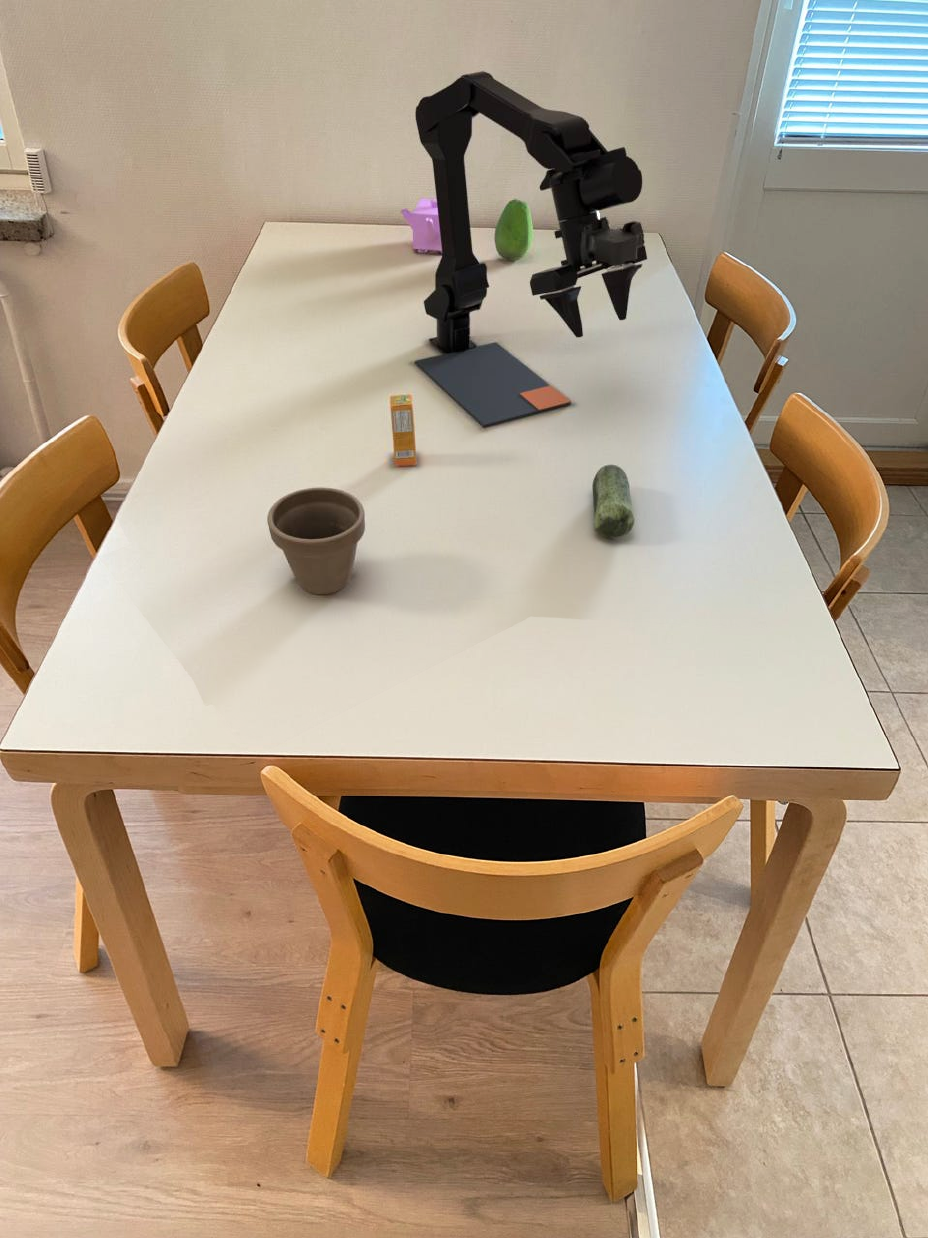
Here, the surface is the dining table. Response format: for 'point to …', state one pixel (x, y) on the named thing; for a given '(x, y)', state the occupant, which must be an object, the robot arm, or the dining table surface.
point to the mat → (491, 384)
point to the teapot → (424, 225)
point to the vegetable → (612, 502)
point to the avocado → (514, 231)
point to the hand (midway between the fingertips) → (601, 328)
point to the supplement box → (403, 430)
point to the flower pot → (318, 536)
